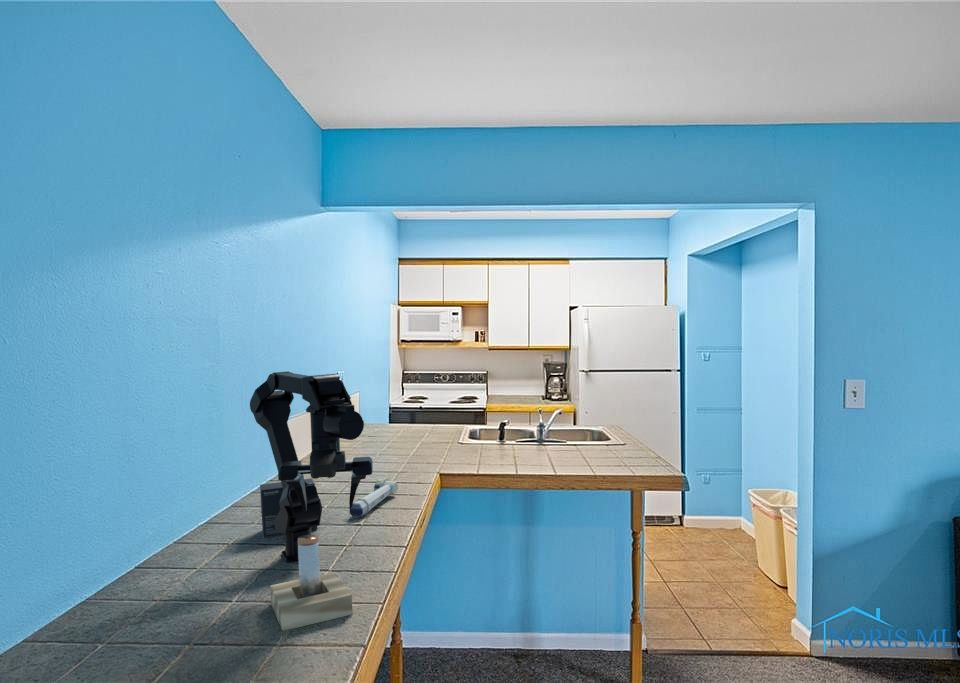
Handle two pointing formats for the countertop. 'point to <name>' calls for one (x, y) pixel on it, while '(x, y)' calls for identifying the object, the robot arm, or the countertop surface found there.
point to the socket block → (310, 602)
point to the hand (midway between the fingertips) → (328, 509)
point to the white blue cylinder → (373, 497)
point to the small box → (273, 506)
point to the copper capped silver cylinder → (309, 565)
